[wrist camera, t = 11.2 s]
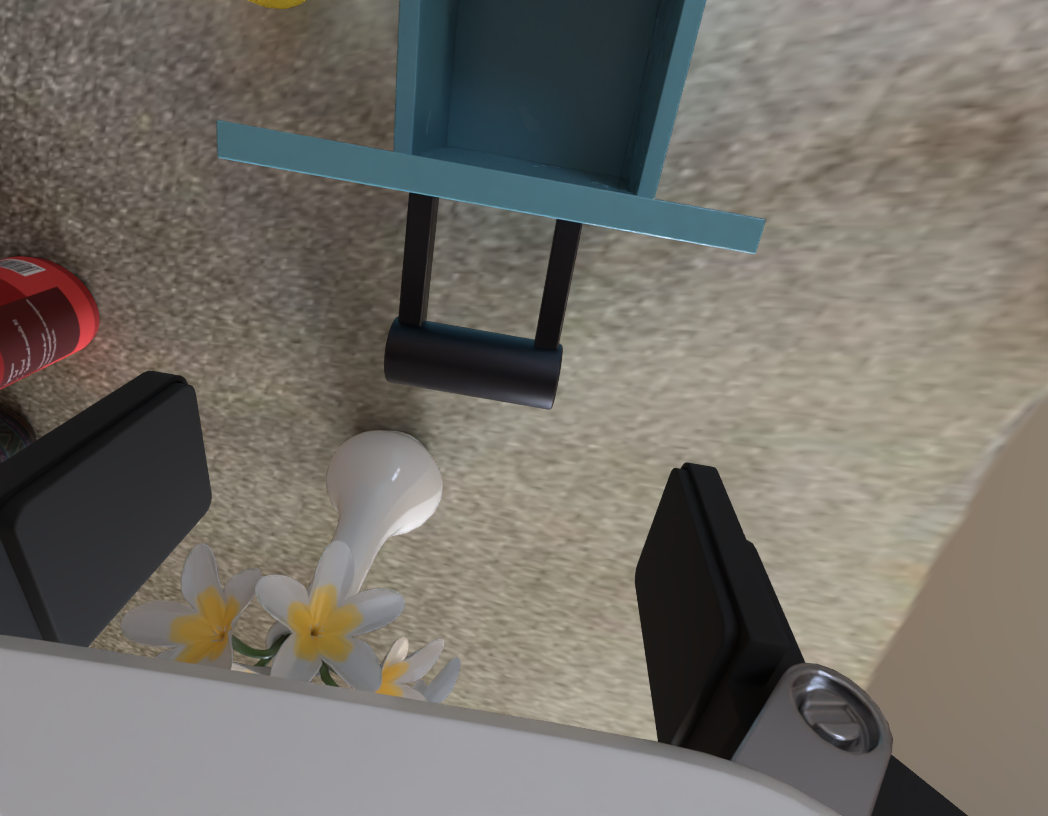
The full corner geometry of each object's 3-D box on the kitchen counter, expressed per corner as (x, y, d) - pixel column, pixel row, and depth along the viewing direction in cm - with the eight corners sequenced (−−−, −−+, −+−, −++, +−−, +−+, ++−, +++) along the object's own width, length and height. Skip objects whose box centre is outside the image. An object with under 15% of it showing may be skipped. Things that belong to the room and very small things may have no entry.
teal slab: (215, 119, 12) (223, 380, 15) (767, 219, 13) (692, 460, 15) (390, 163, 26) (380, 294, 28) (652, 210, 26) (622, 337, 28)
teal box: (455, -128, 29) (408, -233, 20) (693, -82, 29) (749, -166, 20) (434, 157, 35) (392, 171, 26) (628, 192, 35) (649, 218, 27)
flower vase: (465, 552, 51) (392, 879, 29) (280, 464, 48) (40, 762, 26) (536, 455, 46) (511, 771, 24) (332, 347, 42) (81, 602, 20)
